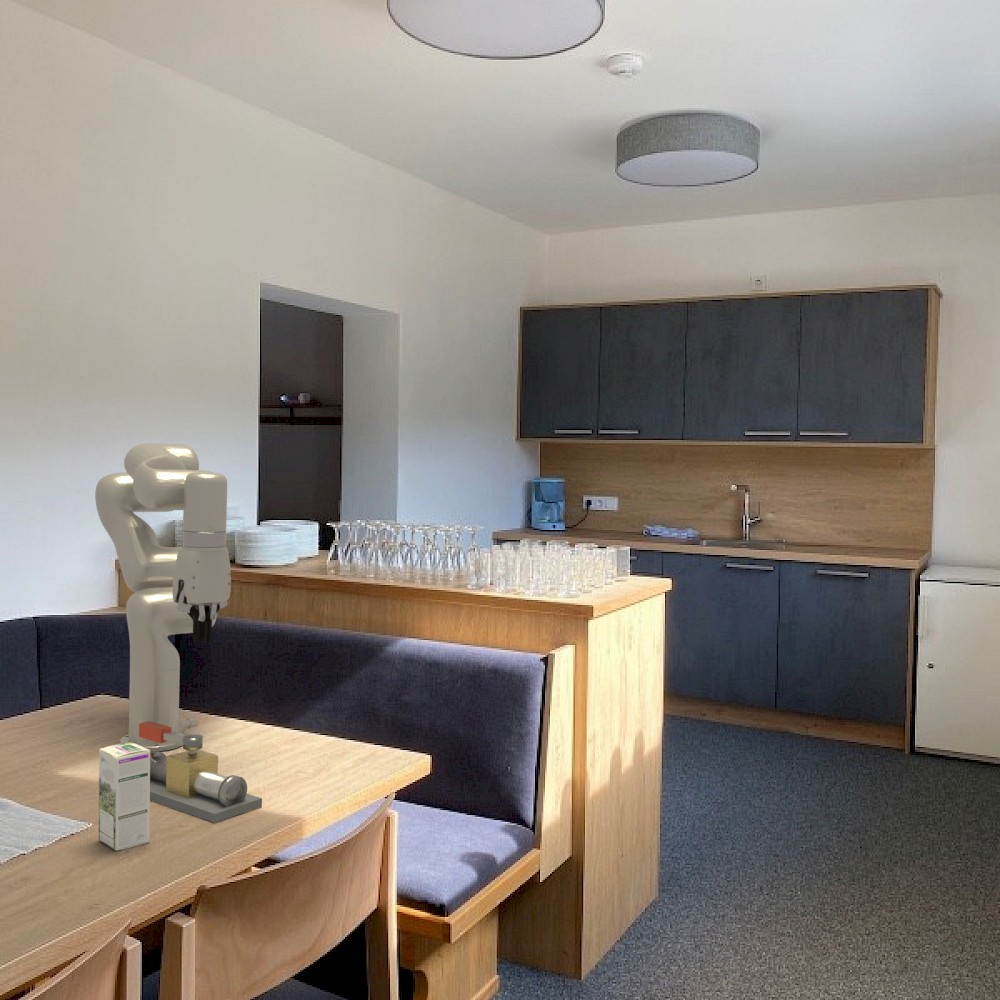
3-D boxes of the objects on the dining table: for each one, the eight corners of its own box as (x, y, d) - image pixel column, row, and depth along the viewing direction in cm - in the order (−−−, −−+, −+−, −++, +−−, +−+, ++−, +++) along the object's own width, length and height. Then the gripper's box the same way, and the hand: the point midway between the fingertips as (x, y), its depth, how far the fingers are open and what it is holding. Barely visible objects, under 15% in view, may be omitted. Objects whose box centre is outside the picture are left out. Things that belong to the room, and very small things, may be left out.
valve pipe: (165, 776, 186) (166, 740, 186) (248, 803, 173) (249, 764, 173) (136, 784, 181) (137, 747, 181) (220, 812, 168) (221, 772, 168)
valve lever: (136, 742, 183) (136, 724, 183) (151, 738, 185) (151, 720, 185) (191, 758, 175) (191, 739, 175) (206, 754, 177) (206, 735, 177)
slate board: (171, 777, 188) (171, 769, 188) (261, 806, 175) (261, 798, 174) (123, 790, 180) (123, 782, 180) (214, 823, 166) (214, 813, 166)
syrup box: (151, 842, 157) (153, 748, 157) (114, 852, 153) (115, 755, 152) (132, 832, 161) (134, 740, 161) (96, 841, 157) (97, 747, 156)
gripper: (221, 537, 195) (219, 634, 196) (156, 541, 182) (154, 644, 183) (250, 540, 191) (247, 639, 192) (185, 544, 178) (183, 650, 179)
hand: (202, 641), depth 187 cm, fingers closed
